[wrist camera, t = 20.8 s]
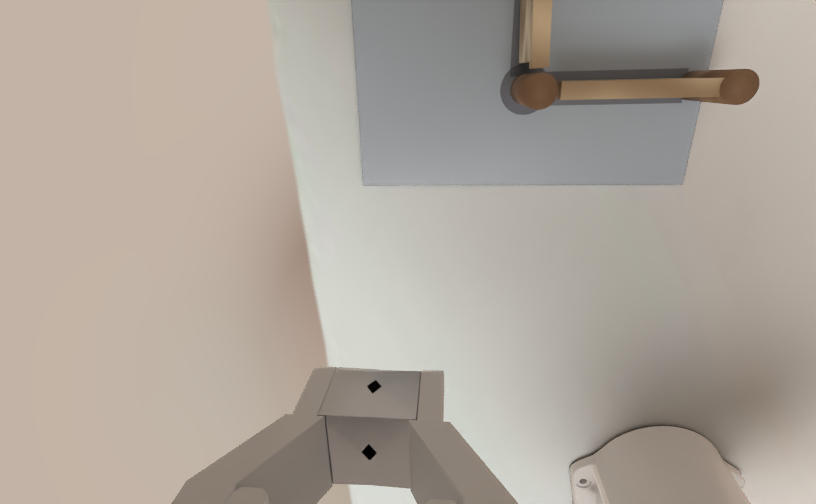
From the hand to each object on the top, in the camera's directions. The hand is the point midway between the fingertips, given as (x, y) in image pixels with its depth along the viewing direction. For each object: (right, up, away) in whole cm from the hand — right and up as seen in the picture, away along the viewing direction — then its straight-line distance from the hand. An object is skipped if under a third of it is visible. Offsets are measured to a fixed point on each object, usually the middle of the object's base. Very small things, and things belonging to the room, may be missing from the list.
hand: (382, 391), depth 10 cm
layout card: (+10, +20, +24) cm, 33 cm away
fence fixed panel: (+17, +17, +25) cm, 34 cm away
